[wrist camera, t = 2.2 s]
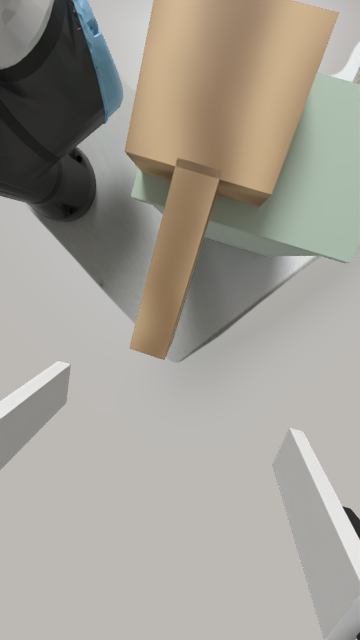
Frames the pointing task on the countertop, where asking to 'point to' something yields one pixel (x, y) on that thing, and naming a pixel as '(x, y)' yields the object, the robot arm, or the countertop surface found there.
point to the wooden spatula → (215, 125)
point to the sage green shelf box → (297, 186)
